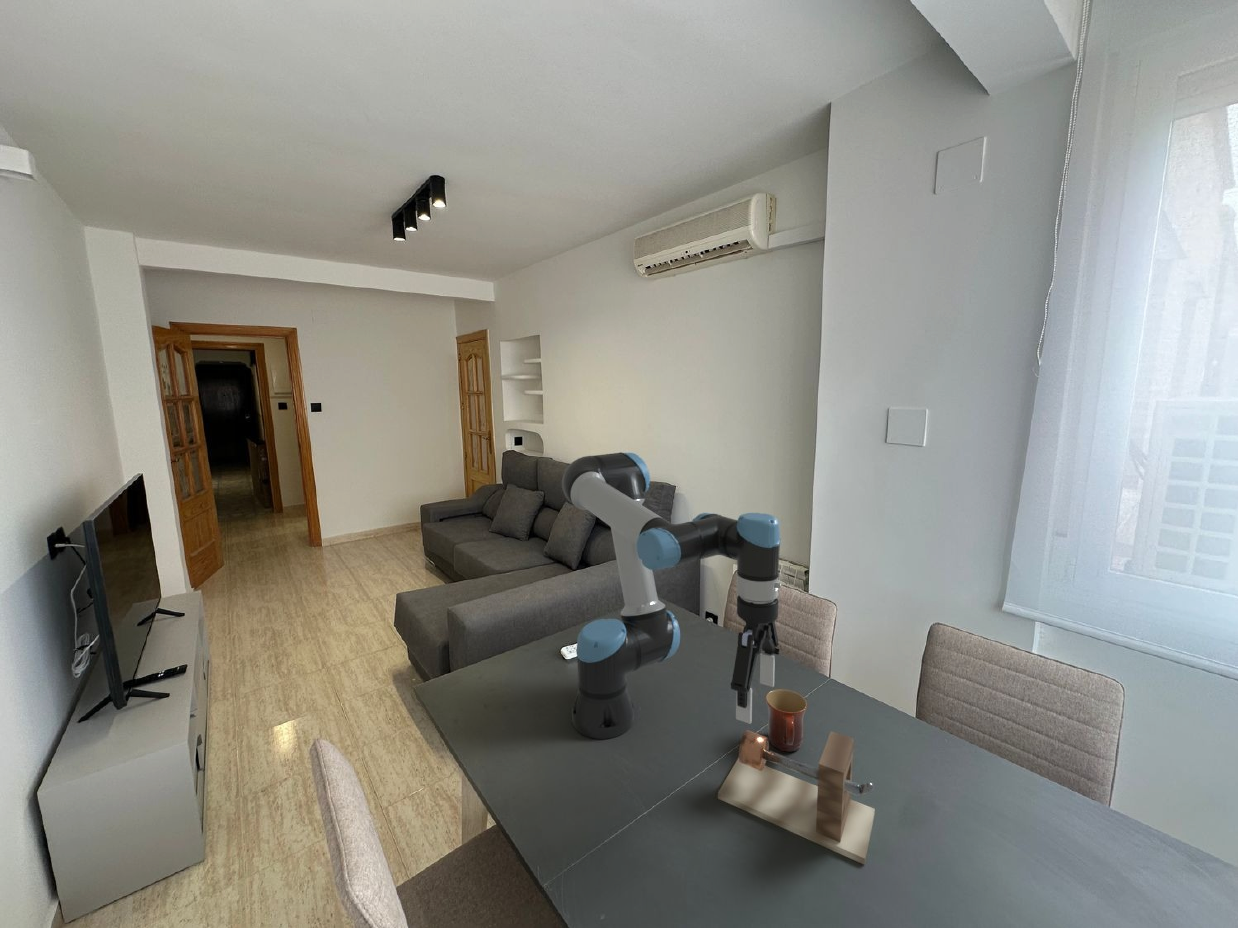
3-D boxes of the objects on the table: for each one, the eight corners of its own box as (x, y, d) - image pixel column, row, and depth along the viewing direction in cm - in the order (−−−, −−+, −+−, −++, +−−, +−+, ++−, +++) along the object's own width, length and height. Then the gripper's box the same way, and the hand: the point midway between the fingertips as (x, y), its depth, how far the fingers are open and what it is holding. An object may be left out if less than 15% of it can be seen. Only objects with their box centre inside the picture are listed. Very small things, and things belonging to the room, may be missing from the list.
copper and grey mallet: (735, 767, 99) (735, 739, 98) (745, 749, 104) (746, 722, 103) (870, 823, 86) (872, 791, 85) (875, 799, 91) (876, 769, 90)
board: (717, 798, 99) (717, 792, 98) (739, 760, 108) (739, 755, 108) (864, 864, 84) (864, 858, 84) (874, 814, 94) (874, 808, 94)
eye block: (815, 831, 89) (818, 763, 87) (828, 794, 98) (830, 731, 96) (840, 842, 87) (843, 772, 85) (850, 803, 95) (853, 738, 93)
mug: (763, 727, 119) (764, 687, 117) (802, 732, 117) (803, 691, 116) (767, 764, 107) (768, 719, 106) (811, 769, 105) (812, 724, 104)
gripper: (755, 626, 83) (753, 745, 86) (795, 579, 103) (793, 676, 106) (712, 616, 87) (712, 730, 90) (759, 572, 107) (758, 666, 110)
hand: (756, 701), depth 98 cm, fingers open, 13 cm apart
